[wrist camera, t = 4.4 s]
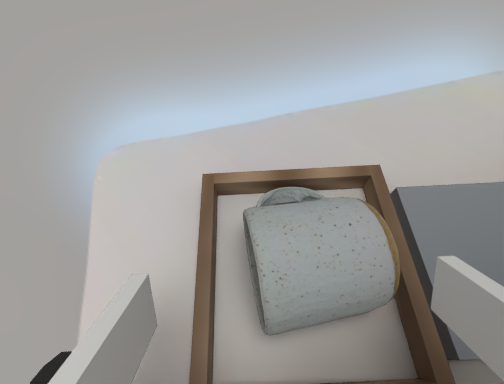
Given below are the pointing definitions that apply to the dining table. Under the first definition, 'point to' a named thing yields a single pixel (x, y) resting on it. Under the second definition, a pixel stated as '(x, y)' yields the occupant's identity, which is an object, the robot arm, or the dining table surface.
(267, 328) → the ceramic mug
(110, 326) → the robot arm
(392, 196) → the grey board
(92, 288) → the dining table surface
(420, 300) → the walnut frame
